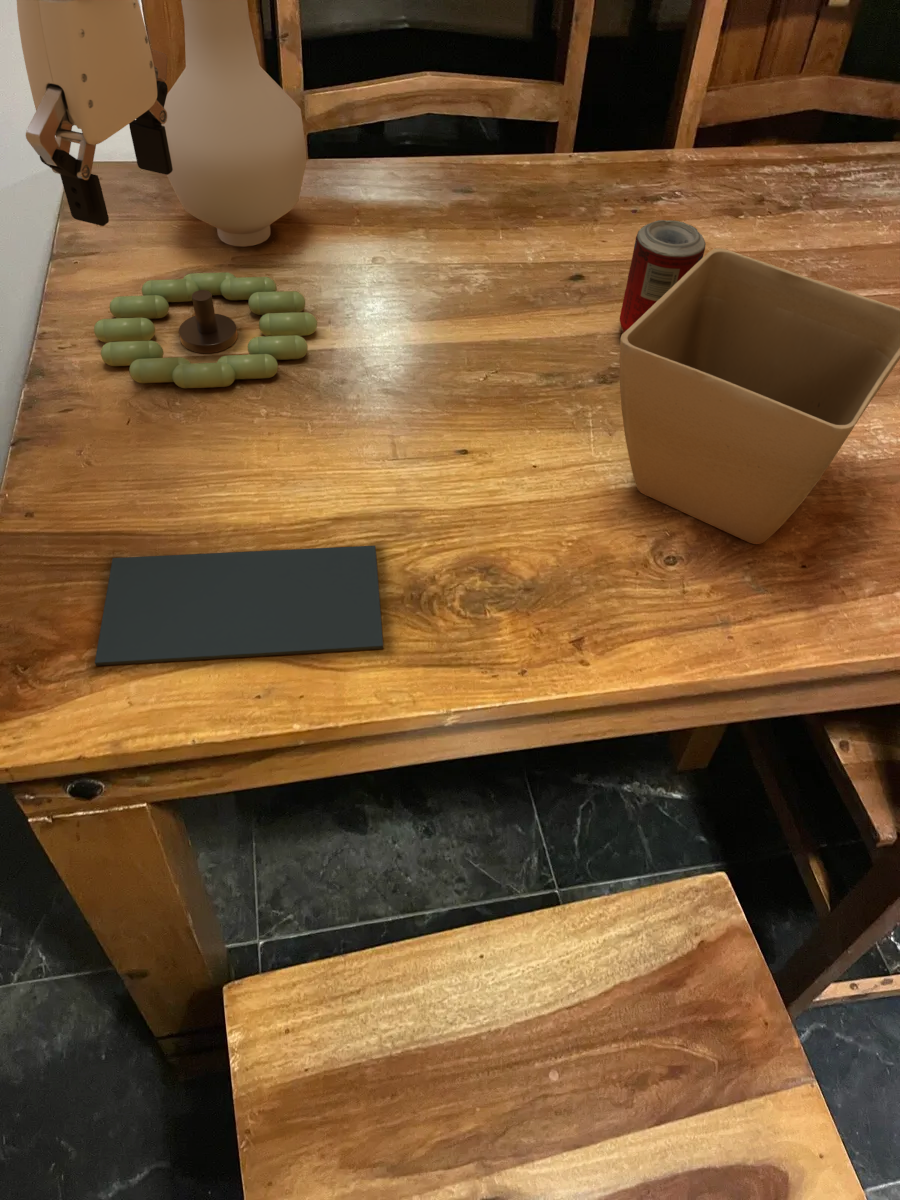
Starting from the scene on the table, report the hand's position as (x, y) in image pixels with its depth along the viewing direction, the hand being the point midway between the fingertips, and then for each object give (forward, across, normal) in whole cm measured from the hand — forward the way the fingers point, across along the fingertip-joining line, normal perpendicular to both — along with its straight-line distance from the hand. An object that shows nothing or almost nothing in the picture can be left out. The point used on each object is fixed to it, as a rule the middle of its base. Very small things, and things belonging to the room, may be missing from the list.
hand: (124, 194), depth 79 cm
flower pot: (+20, -8, +55) cm, 59 cm away
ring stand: (+20, -9, -1) cm, 22 cm away
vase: (+20, -30, -8) cm, 37 cm away
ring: (+19, -9, -1) cm, 21 cm away
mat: (+20, +23, +21) cm, 36 cm away
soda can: (+20, -29, +43) cm, 56 cm away
